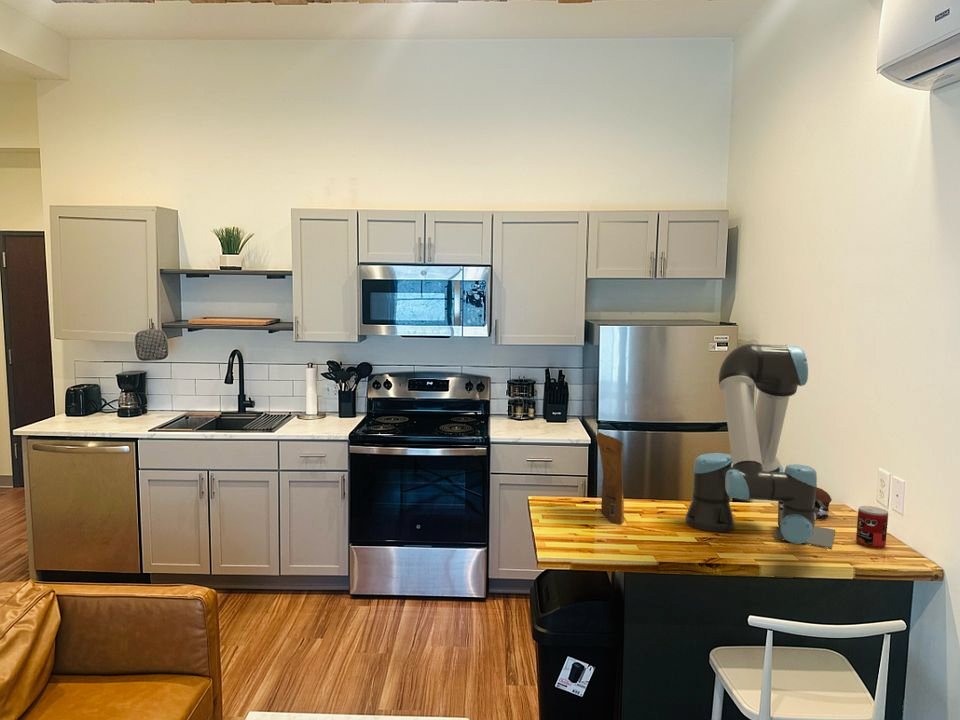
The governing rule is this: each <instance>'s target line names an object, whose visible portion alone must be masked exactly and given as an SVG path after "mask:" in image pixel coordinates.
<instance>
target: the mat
mask: <svg viewBox="0 0 960 720" xmlns="http://www.w3.org/2000/svg"><path fill="white" fill-rule="evenodd" d="M835 533H836V529H833V528H828V527H821V526H815V525H814V528H813V535H812V536H811V537H810V539H809V540H808V541H807V542H804V543H805V544H804V545H806V544H811V545H810V546H812V545H816V546H815V547H817V545H818V546H822V547H828V548H832V549H833V545H834V539H835V536H836V535H835ZM774 538H775V540H780V539H784V537H783V535H782V533H781V530H780V528H779V526H778V527H777V530H776V532H775V534H774V536H773V539H774ZM783 541H785V539H784V540H783ZM822 547H821V548H822ZM828 548H827V549H828Z"/></svg>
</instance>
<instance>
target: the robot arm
mask: <svg viewBox="0 0 960 720" xmlns="http://www.w3.org/2000/svg"><path fill="white" fill-rule="evenodd" d="M807 359H808V358H807V356H806V352H805V350H803V348H802V347H800V346H798V345H788V344H785V345H783V344H781V345H780V344H755V343H747V344H744V345H743V344H742V345H740V346H738V347H736V348H734V349H733V350H732V351H730V352H729V353H728V354H727V356H726V357H725V358H724V359H723V362H722V363H721V365H720V369H719V371H718V387H719V390H720V391H721V392H722V393H723V398H724V407H725V414H726V424H727V432H728V438H729V439H728V440H729V447H730V453H729V454H728V453H721V452H714V453H713V452H712V453H711V452H709V453H704V454H701V455H698V456H697V457H696V458H695V460H694V463H693V464H694V465H693V470H692V471H693V480H692V498H691V502H690V504H689V507H688V509H687V511H686V514H685V523H686V524H687V525H688V526H690V527H692V528H694V529H697V530H701V531H706V532H715V533H717V532H718V533H719V532H720V533H722V532H730V531H731V530H733V529H734V528H735V519H734V516H733V512H732V508H731V504H730V501H731V498H734V499H739V500H745V501H747V500H754V501H755V500H759V501H773V502H778V501H780V506H779V509H780V510H783V517H782V521H781V527H780V529H781V533H782V535H783V536H784V538H785V539H787V540H788V541H787V542H789V543H792V544H800V545H801V543H804V542H806V541H808V540H809V539H810V537H811V536H812V535H813V528H814V526H815V525H816V521H817V520H816V518H817V517H818V516H819V515H820V516H824V517H826V518H829V511H830V507H828V508H827V507H825V506H824V504H823V503H822V502H821V500H820V499H816V500H815V498H816V488H817V487H818V485H817V484H818V483H817V482H818V481H817V480H818V479H817V477H818V476H817V475H818V473H817V471H816V470H815V468H813V467H811V466H809V465H804V464H795V463H793V464H787V465H786V466H785V469H784V467H783V465H782V463H781V462H780V460H779V458H778V457H777V453H778V448H779V443H780V441H781V440H780V439H781V436H782V430H783V426H784V422H785V418H786V414H787V409H788V404H789V400H790V397H792V396H794V395H796V393H797V390H798V386H799V387H802V386H806V384H807V382H808V379H809V365H808V360H807ZM754 387H755V388H756V389H757V390H758V394H757V399H756V404H755V405H754V397H753V391H752V390H753V388H754Z"/></svg>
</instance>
